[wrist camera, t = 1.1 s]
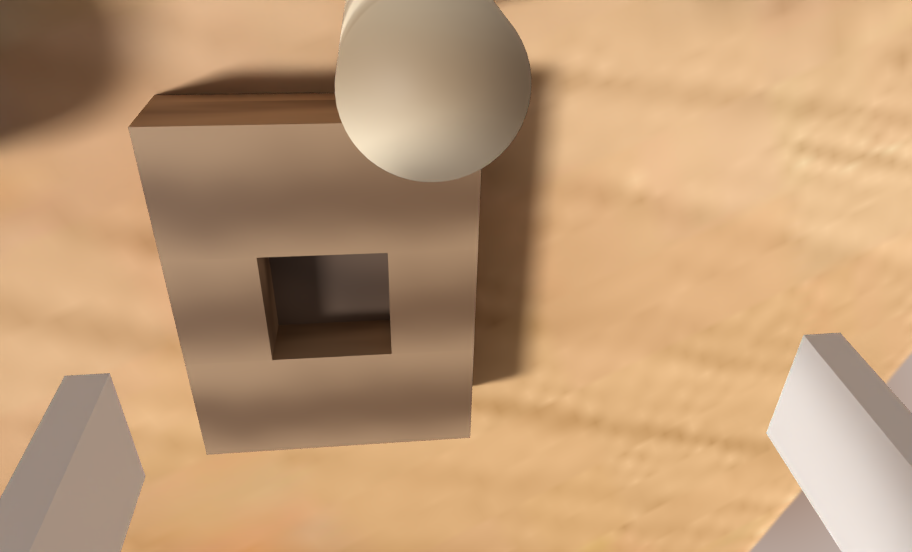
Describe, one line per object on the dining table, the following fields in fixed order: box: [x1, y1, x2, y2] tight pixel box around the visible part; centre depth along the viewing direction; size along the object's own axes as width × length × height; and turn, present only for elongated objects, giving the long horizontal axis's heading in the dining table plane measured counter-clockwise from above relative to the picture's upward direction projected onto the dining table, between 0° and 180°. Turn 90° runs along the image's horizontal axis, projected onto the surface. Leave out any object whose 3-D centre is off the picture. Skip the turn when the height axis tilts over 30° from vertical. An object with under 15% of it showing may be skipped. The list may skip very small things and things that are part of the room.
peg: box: [335, 0, 531, 182], centre depth 22 cm, size 4×4×16 cm
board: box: [128, 93, 481, 455], centre depth 34 cm, size 18×14×4 cm
